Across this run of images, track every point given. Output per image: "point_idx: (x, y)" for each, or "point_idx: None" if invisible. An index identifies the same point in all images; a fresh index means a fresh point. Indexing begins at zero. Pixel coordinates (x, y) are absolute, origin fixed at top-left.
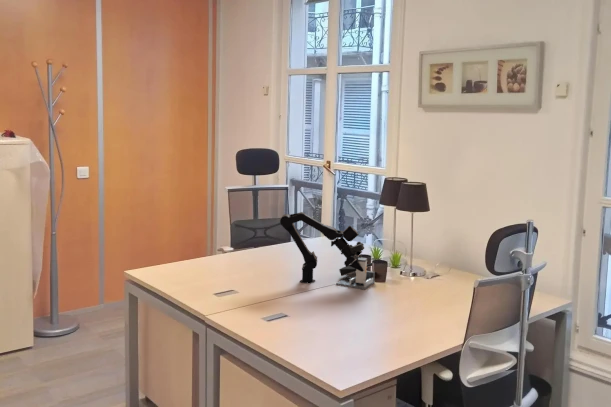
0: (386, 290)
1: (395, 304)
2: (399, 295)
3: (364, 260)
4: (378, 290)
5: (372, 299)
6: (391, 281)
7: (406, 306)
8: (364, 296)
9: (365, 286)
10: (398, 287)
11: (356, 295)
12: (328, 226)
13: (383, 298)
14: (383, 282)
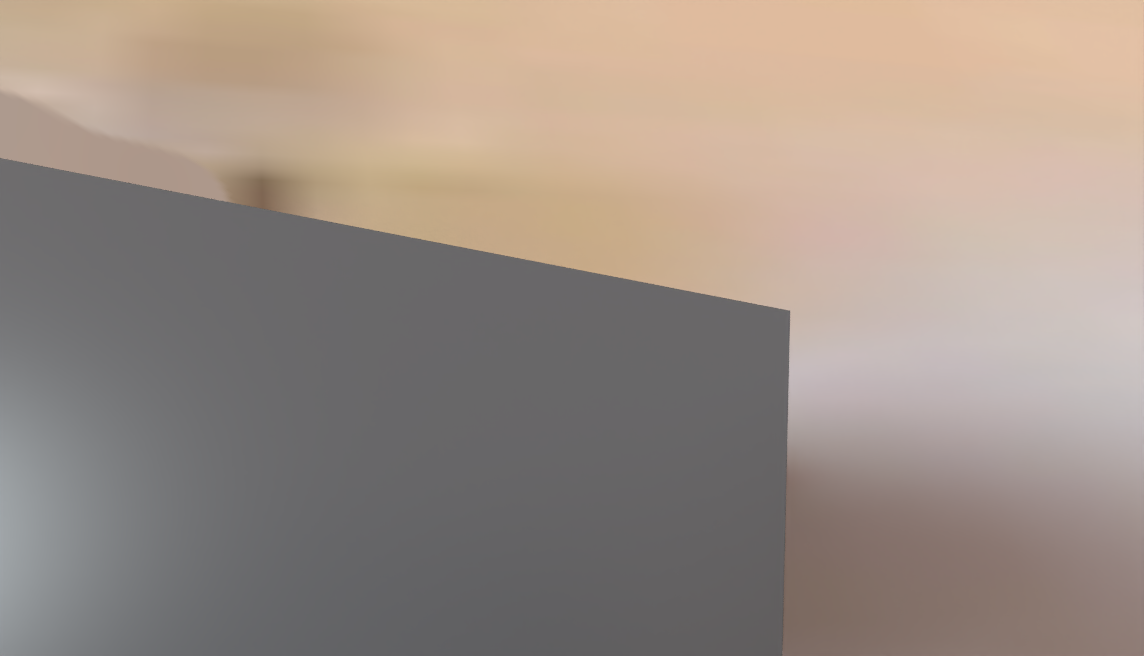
0: (661, 175)
1: (1129, 120)
2: (810, 58)
3: (780, 404)
4: (691, 272)
5: (1106, 355)
6: (216, 90)
7: (1126, 36)
8: (1041, 468)
9: None
10: (496, 39)
11: (1057, 602)
12: None
13: (998, 224)
14: (273, 191)
